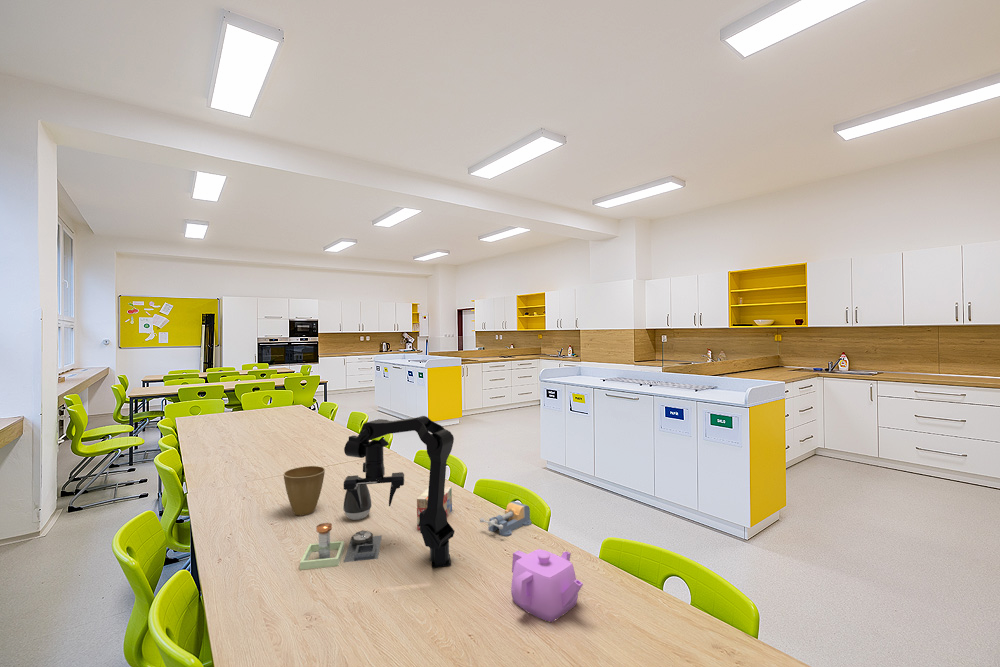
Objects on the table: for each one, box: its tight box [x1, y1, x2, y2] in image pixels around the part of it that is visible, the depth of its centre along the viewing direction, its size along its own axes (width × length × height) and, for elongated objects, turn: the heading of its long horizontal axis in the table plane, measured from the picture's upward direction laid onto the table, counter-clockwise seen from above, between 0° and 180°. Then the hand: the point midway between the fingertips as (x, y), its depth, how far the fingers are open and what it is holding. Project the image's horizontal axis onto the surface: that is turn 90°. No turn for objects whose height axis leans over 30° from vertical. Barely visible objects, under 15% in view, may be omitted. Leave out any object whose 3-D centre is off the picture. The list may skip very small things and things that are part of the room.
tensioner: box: [343, 530, 383, 563], centre depth 142 cm, size 16×10×4 cm, turn 11°
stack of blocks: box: [416, 486, 453, 531], centre depth 164 cm, size 21×6×12 cm, turn 169°
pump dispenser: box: [342, 476, 372, 521], centre depth 169 cm, size 10×10×15 cm
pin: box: [315, 522, 333, 559], centre depth 136 cm, size 4×4×10 cm
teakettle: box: [510, 548, 584, 623], centre depth 114 cm, size 17×17×12 cm
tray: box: [299, 540, 345, 571], centre depth 136 cm, size 12×11×3 cm
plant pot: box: [283, 465, 326, 516], centre depth 175 cm, size 15×15×16 cm
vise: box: [479, 500, 532, 537], centre depth 158 cm, size 18×10×7 cm, turn 138°
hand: (375, 507), depth 145 cm, fingers open, 9 cm apart
